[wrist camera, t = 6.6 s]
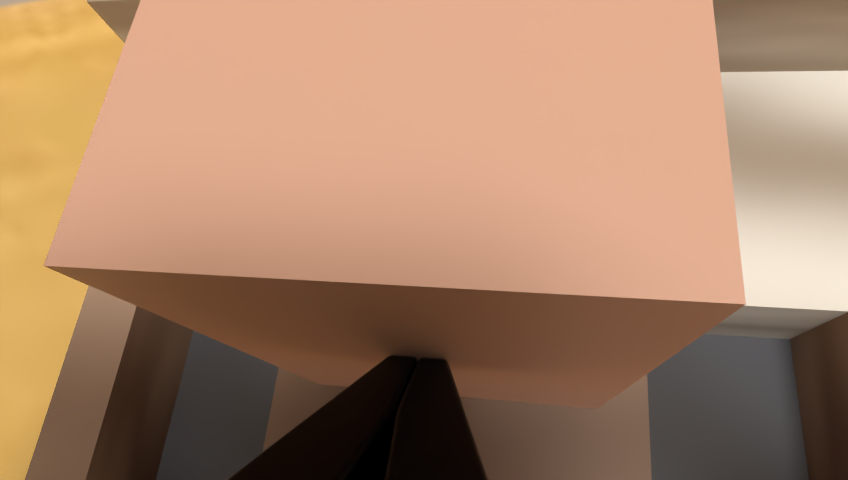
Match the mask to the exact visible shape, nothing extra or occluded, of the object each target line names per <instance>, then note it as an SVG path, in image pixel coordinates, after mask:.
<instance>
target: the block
mask: <svg viewBox="0 0 848 480" xmlns="http://www.w3.org/2000/svg"><path fill="white" fill-rule="evenodd" d="M44 266H45V267H47V268H50V269H52V270H54V271H57V272H59V273H61V274H64V275H66V276H68V277H71V278H73V279H75V280H78V281H80V282H82V283H85V284H87V285H89V286H92V287H94V288H96V289H99V290H101V291H103V292H105V293H108V294H110V295H112V296H115V297H117V298H119V299H122V300H124V301H126V302H129V303H131V304H133V305H136V306H138V307H140V308H143V309H145V310H147V311H150V312H152V313H154V314H157V315H159V316H161V317H163V318H166V319H168V320H170V321H173V322H175V323H177V324H180V325H182V326H184V327H187V328H189V329H191V330H194V331H196V332H198V333H201V334H203V335H205V336H208V337H210V338H212V339H215V340H217V341H219V342H222V343H224V344H226V345H228V346H231V347H233V348H235V349H238V350H240V351H242V352H245V353H247V354H249V355H252V356H254V357H256V358H259V359H261V360H263V361H266V362H268V363H270V364H273V365H275V366H277V367H280V368H282V369H284V370H287V371H289V372H291V373H293V374H296V375H298V376H300V377H303V378H305V379H307V380H310V381H312V382H314V383H317V384H321V385H332V386H344V387H348V386H350V385H351V384H352V383H354V382H355V381H356V380H358V379H359V378H360V377H361V376H363V375H364V374H365V373H367V372H368V371H369V370H371V369H372V368H373V367H375V366H376V365H377V364H379V363H380V362H381V361H382V360H384V359H385V358H386V357H388V356H390V355H397V356H410V357H415V358H416V359H417V360H419V359H420V358H437V359H445V360H447V362H448V363H449V366H450V369H451V372H452V375H453V378H454V381H455V384H456V387H457V390H458V393H459V396H460V397H468V398H480V399H491V400H502V401H514V402H525V403H536V404H548V405H559V406H570V407H582V408H593V409H598V408H600V407H601V406H602V405H604V404H605V403H607V402H608V401H609V400H611V399H612V398H614V397H615V396H617V395H618V394H619V393H621V392H622V391H624V390H625V389H627V388H628V387H629V386H631V385H632V384H634V383H635V382H636V381H638V380H639V379H641V378H642V377H644V376H645V375H646V374H648V373H649V372H651V371H652V370H653V369H655V368H656V367H658V366H659V365H661V364H662V363H663V362H665V361H666V360H668V359H669V358H670V357H672V356H673V355H675V354H676V353H678V352H679V351H680V350H682V349H683V348H685V347H686V346H688V345H689V344H690V343H692V342H693V341H695V340H696V339H697V338H699V337H700V336H702V335H703V334H705V333H706V332H707V331H709V330H710V329H712V328H713V327H714V326H716V325H717V324H719V323H720V322H722V321H723V320H724V319H726V318H727V317H729V316H730V315H732V314H733V313H734V312H736V311H737V310H739V309H740V308H741V307H743V306H744V305H746V301H745V292H744V282H743V273H742V264H741V255H740V246H739V237H738V228H737V218H736V209H735V200H734V191H733V182H732V173H731V164H730V155H729V145H728V136H727V127H726V118H725V109H724V100H723V91H722V82H721V72H720V63H719V54H718V45H717V36H716V27H715V18H714V9H713V0H141V1H140V3H139V6H138V9H137V12H136V14H135V17H134V20H133V22H132V25H131V28H130V31H129V33H128V36H127V39H126V42H125V44H124V47H123V50H122V53H121V55H120V58H119V61H118V64H117V66H116V69H115V72H114V74H113V77H112V80H111V83H110V85H109V88H108V91H107V94H106V96H105V99H104V102H103V105H102V107H101V110H100V113H99V115H98V118H97V121H96V124H95V126H94V129H93V132H92V135H91V137H90V140H89V143H88V146H87V148H86V151H85V154H84V157H83V159H82V162H81V165H80V167H79V170H78V173H77V176H76V178H75V181H74V184H73V187H72V189H71V192H70V195H69V198H68V200H67V203H66V206H65V208H64V211H63V214H62V217H61V219H60V222H59V225H58V228H57V230H56V233H55V236H54V239H53V241H52V244H51V247H50V250H49V252H48V255H47V258H46V260H45V263H44Z"/></svg>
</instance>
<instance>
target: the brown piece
mask: <svg viewBox="0 0 848 480" xmlns="http://www.w3.org/2000/svg"><path fill="white" fill-rule="evenodd" d="M140 1H141V0H87V2H88V4H89V5H90V6H91V7H92V8H93V9H94V10H95V11H96V12H97V13H98V14H99V16H100V17H101V18H102V19H103V20H104V21H105V22H106V23H107V24H108V25H109V27H110V28H111V29H112V30H113V31H114V32H115V33H116V34H117V35H118V36H119V37H120V39H121V40H122V41H123V42H124V43H125V42H126V39H127V36H128V33H129V31H130V28H131V25H132V22H133V20H134V17H135V14H136V12H137V9H138V6H139V3H140ZM713 9H714V18H715V27H716V36H717V45H718V54H719V63H720V72H721V82H722V91H723V100H724V109H725V118H726V127H727V136H728V145H729V155H730V164H731V173H732V182H733V191H734V200H735V209H736V218H737V228H738V237H739V246H740V255H741V264H742V273H743V282H744V292H745V301H746V305H744V306H743V307H741V308H740V309H739V310H737V311H736V312H734V313H733V314H732V315H730V316H729V317H727V318H726V319H724V320H723V321H722V322H720V323H719V324H717V325H716V326H714V327H713V328H712V329H710V330H709V331H707V332H706V333H705V334H703V335H702V336H700V337H699V338H697V339H696V340H695V341H693V342H692V343H690V344H689V345H688V346H686V347H685V348H683V349H682V350H680V351H679V352H678V353H676V354H675V355H673V356H672V357H670V358H669V359H668V360H666V361H665V362H663V363H662V364H661V365H659V366H658V367H656V368H655V369H653V370H652V371H651V372H649V373H648V374H646V375H645V376H644V377H642V378H641V379H639V380H638V381H636V382H635V383H634V384H632V385H631V386H629V387H628V388H627V389H625V390H624V391H622V392H621V393H619V394H618V395H617V396H615V397H614V398H612V399H611V400H609V401H608V402H607V403H605V404H604V405H602V406H601V407H600V408H598V409H593V408H582V407H570V406H559V405H548V404H536V403H525V402H514V401H502V400H491V399H480V398H468V397H460V399H461V401H462V404H463V407H464V410H465V413H466V416H467V419H468V422H469V425H470V428H471V431H472V434H473V437H474V440H475V443H476V445H477V448H478V451H479V454H480V457H481V460H482V463H483V466H484V469H485V472H486V475H487V478H488V480H848V0H713ZM346 388H347V387H344V386H332V385H321V384H317V383H314V382H312V381H310V380H307V379H305V378H303V377H300V376H298V375H296V374H293V373H291V372H289V371H287V370H284V369H282V368H280V367H277V366H275V365H273V364H270V363H268V362H266V361H263V360H261V359H259V358H256V357H254V356H252V355H249V354H247V353H245V352H242V351H240V350H238V349H235V348H233V347H231V346H228V345H226V344H224V343H222V342H219V341H217V340H215V339H212V338H210V337H208V336H205V335H203V334H201V333H198V332H196V331H194V330H191V329H189V328H187V327H184V326H182V325H180V324H177V323H175V322H173V321H170V320H168V319H166V318H163V317H161V316H159V315H157V314H154V313H152V312H150V311H147V310H145V309H143V308H140V307H138V306H136V305H133V304H131V303H129V302H126V301H124V300H122V299H119V298H117V297H115V296H112V295H110V294H108V293H105V292H103V291H101V290H99V289H96V288H94V287H92V286H89V287H88V290H87V293H86V296H85V299H84V302H83V305H82V308H81V311H80V314H79V317H78V320H77V323H76V326H75V329H74V332H73V335H72V338H71V342H70V345H69V348H68V351H67V354H66V357H65V360H64V363H63V366H62V369H61V372H60V375H59V378H58V381H57V384H56V387H55V390H54V393H53V396H52V399H51V402H50V405H49V408H48V411H47V414H46V417H45V420H44V423H43V426H42V429H41V432H40V436H39V439H38V442H37V445H36V448H35V451H34V454H33V457H32V460H31V463H30V466H29V469H28V472H27V475H26V478H25V480H226V479H227V478H229V477H230V476H231V475H233V474H234V473H235V472H237V471H238V470H239V469H241V468H242V467H243V466H245V465H246V464H247V463H248V462H250V461H251V460H252V459H254V458H255V457H256V456H258V455H259V454H260V453H262V452H263V451H264V450H266V449H267V448H268V447H269V446H271V445H272V444H273V443H275V442H276V441H277V440H279V439H280V438H281V437H283V436H284V435H285V434H287V433H288V432H289V431H291V430H292V429H293V428H294V427H296V426H297V425H298V424H300V423H301V422H302V421H304V420H305V419H306V418H308V417H309V416H310V415H312V414H313V413H314V412H315V411H317V410H318V409H319V408H321V407H322V406H323V405H325V404H326V403H327V402H329V401H330V400H331V399H333V398H334V397H335V396H336V395H338V394H339V393H340V392H342V391H343V390H344V389H346Z"/></svg>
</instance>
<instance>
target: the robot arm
mask: <svg viewBox="0 0 848 480" xmlns="http://www.w3.org/2000/svg"><path fill="white" fill-rule="evenodd" d="M226 480H488V478H487V475H486V472H485V469H484V466H483V463H482V460H481V457H480V454H479V451H478V448H477V445H476V443H475V440H474V437H473V434H472V431H471V428H470V425H469V422H468V419H467V416H466V413H465V410H464V407H463V404H462V401H461V399H460V396H459V393H458V390H457V387H456V384H455V381H454V378H453V375H452V372H451V369H450V366H449V363H448V362H447V360H445V359H437V358H420V359H419V360H417V359H416V358H415V357H410V356H397V355H390V356H388V357H386V358H385V359H384V360H382V361H381V362H380V363H379V364H377V365H376V366H375V367H373V368H372V369H371V370H369V371H368V372H367V373H365V374H364V375H363V376H361V377H360V378H359V379H358V380H356V381H355V382H354V383H352V384H351V385H350V386H348V387H347V388H346V389H344V390H343V391H342V392H340V393H339V394H338V395H336V396H335V397H334V398H333V399H331V400H330V401H329V402H327V403H326V404H325V405H323V406H322V407H321V408H319V409H318V410H317V411H315V412H314V413H313V414H312V415H310V416H309V417H308V418H306V419H305V420H304V421H302V422H301V423H300V424H298V425H297V426H296V427H294V428H293V429H292V430H291V431H289V432H288V433H287V434H285V435H284V436H283V437H281V438H280V439H279V440H277V441H276V442H275V443H273V444H272V445H271V446H269V447H268V448H267V449H266V450H264V451H263V452H262V453H260V454H259V455H258V456H256V457H255V458H254V459H252V460H251V461H250V462H248V463H247V464H246V465H245V466H243V467H242V468H241V469H239V470H238V471H237V472H235V473H234V474H233V475H231V476H230V477H229V478H227V479H226Z"/></svg>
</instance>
